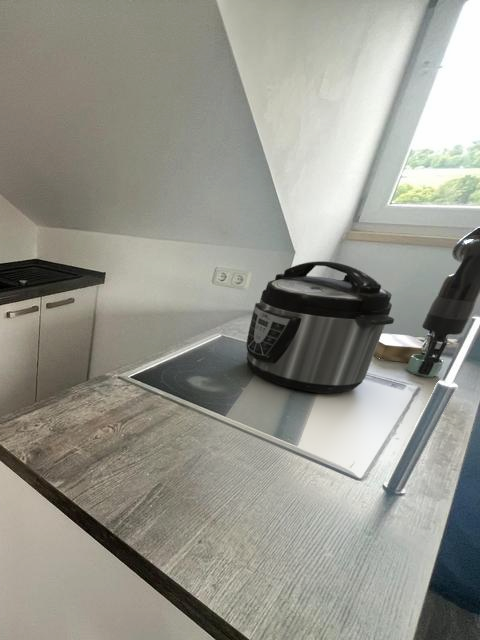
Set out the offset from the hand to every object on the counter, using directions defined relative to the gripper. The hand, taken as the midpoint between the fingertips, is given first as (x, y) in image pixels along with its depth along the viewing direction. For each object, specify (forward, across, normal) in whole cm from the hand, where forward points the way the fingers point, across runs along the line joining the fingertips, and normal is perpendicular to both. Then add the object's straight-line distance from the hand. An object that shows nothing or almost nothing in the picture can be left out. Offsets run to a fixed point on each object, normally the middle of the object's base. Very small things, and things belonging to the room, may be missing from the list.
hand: (422, 369), depth 111 cm
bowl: (+1, 0, 0) cm, 1 cm away
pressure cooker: (+1, -25, +26) cm, 36 cm away
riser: (+1, +12, +6) cm, 14 cm away
